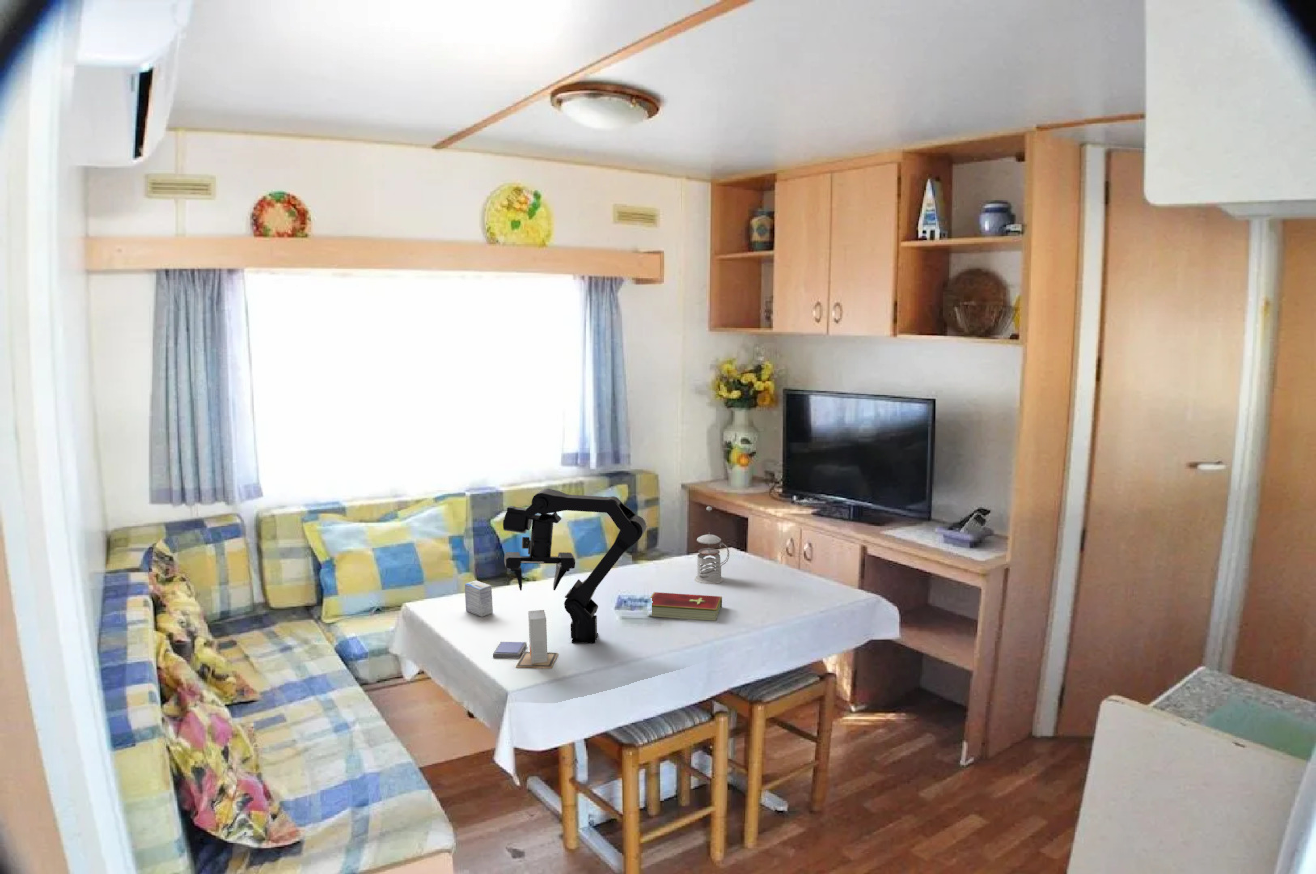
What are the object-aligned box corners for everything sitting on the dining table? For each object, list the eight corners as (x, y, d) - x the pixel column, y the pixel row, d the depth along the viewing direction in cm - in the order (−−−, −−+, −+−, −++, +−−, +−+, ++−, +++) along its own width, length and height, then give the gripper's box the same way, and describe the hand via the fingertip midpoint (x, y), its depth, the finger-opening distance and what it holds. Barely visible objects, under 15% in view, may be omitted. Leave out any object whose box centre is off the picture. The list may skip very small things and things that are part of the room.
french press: (692, 575, 285) (692, 503, 282) (725, 574, 287) (726, 502, 283) (696, 584, 276) (696, 510, 272) (731, 583, 277) (732, 509, 273)
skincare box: (529, 654, 219) (527, 610, 217) (545, 653, 220) (544, 609, 218) (531, 664, 213) (529, 619, 211) (548, 662, 214) (546, 617, 212)
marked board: (557, 654, 220) (557, 652, 220) (551, 668, 212) (551, 666, 212) (524, 653, 221) (524, 651, 221) (515, 667, 212) (515, 665, 212)
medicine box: (493, 613, 251) (492, 585, 249) (480, 617, 247) (479, 589, 246) (477, 607, 256) (476, 579, 255) (465, 611, 253) (464, 583, 251)
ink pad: (526, 645, 226) (526, 641, 226) (519, 658, 218) (519, 653, 218) (500, 645, 227) (500, 641, 226) (493, 657, 219) (492, 652, 219)
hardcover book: (654, 604, 259) (654, 590, 259) (721, 608, 255) (722, 595, 254) (645, 617, 248) (645, 604, 247) (716, 622, 243) (716, 608, 243)
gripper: (570, 526, 238) (566, 579, 241) (504, 525, 233) (500, 579, 236) (577, 539, 228) (572, 594, 231) (508, 538, 222) (504, 594, 225)
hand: (537, 589), depth 231 cm, fingers open, 9 cm apart
